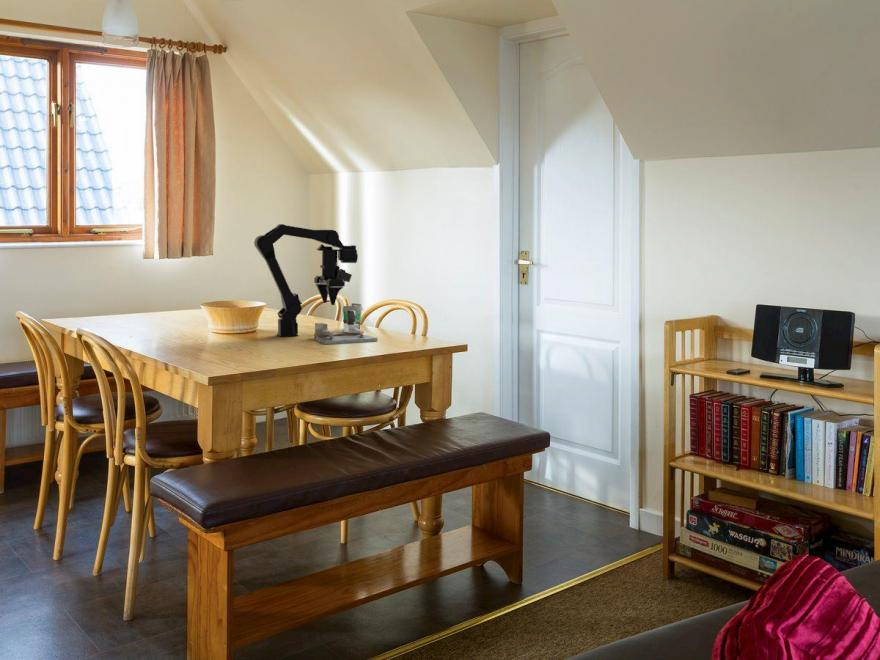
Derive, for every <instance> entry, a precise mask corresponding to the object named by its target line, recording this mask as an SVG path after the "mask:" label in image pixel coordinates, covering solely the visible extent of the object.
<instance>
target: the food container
mask: <svg viewBox="0 0 880 660" xmlns="http://www.w3.org/2000/svg"><path fill="white" fill-rule="evenodd" d="M348 310H354V311H355V324H359V329H360V330H361V319H362V311H363V310H364V308H363V305H362V303H351V305H342V313H343V315H342V316H343V324H344V323H347V311H348Z"/></svg>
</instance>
